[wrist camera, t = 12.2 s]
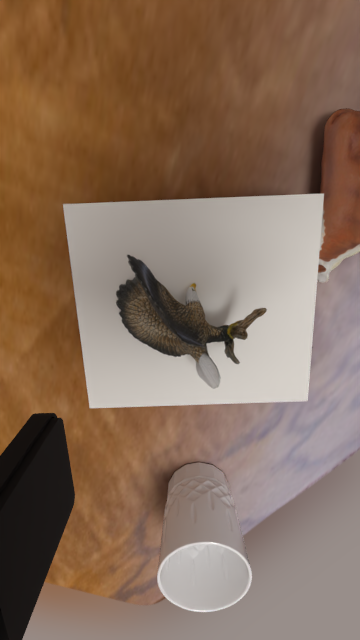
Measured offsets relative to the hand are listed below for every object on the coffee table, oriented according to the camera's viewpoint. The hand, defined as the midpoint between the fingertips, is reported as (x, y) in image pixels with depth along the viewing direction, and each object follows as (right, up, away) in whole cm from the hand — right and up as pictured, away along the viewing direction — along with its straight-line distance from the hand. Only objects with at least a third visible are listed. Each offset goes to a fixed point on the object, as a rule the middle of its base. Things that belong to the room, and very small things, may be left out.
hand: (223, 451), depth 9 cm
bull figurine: (+17, +13, +17) cm, 28 cm away
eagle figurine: (-1, +5, +16) cm, 16 cm away
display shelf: (0, +6, +21) cm, 22 cm away
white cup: (+1, -15, +28) cm, 31 cm away
